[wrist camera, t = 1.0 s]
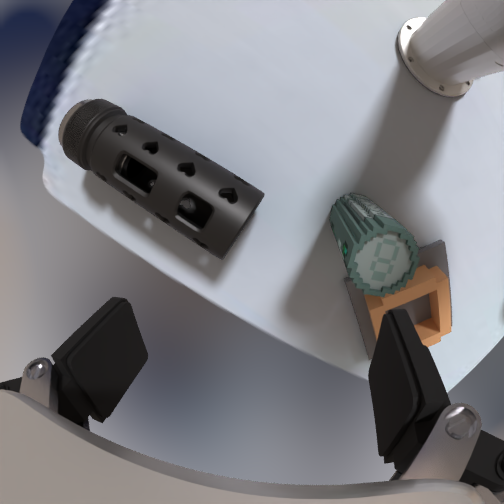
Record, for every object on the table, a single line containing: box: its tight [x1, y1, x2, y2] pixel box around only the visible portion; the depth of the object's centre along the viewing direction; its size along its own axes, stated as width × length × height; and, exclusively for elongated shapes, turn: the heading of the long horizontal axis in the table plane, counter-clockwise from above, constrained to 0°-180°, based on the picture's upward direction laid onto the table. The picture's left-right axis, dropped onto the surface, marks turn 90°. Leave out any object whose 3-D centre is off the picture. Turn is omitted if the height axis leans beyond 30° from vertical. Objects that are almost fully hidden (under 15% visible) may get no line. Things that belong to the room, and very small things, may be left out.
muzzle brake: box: [58, 99, 264, 260], centre depth 30 cm, size 10×28×10 cm, turn 58°
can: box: [329, 193, 420, 297], centre depth 27 cm, size 6×6×15 cm
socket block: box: [344, 240, 452, 360], centre depth 34 cm, size 16×16×5 cm
